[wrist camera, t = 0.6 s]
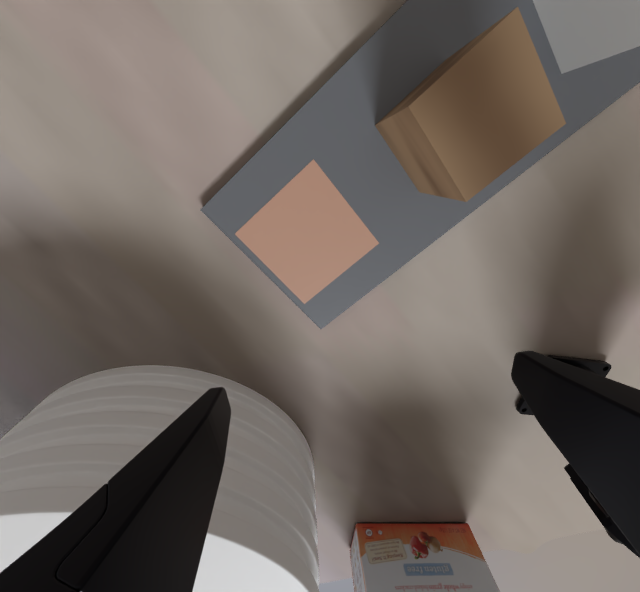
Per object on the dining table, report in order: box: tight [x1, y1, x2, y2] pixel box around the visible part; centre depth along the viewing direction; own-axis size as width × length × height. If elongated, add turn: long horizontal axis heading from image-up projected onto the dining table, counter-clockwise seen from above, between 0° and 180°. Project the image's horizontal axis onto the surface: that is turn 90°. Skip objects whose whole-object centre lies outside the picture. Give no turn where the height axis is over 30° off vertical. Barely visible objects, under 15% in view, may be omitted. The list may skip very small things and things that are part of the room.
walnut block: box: [375, 7, 566, 202], centre depth 15 cm, size 5×5×6 cm
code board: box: [201, 0, 640, 329], centre depth 18 cm, size 28×12×1 cm, turn 131°
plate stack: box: [0, 365, 319, 592], centre depth 25 cm, size 28×28×12 cm
